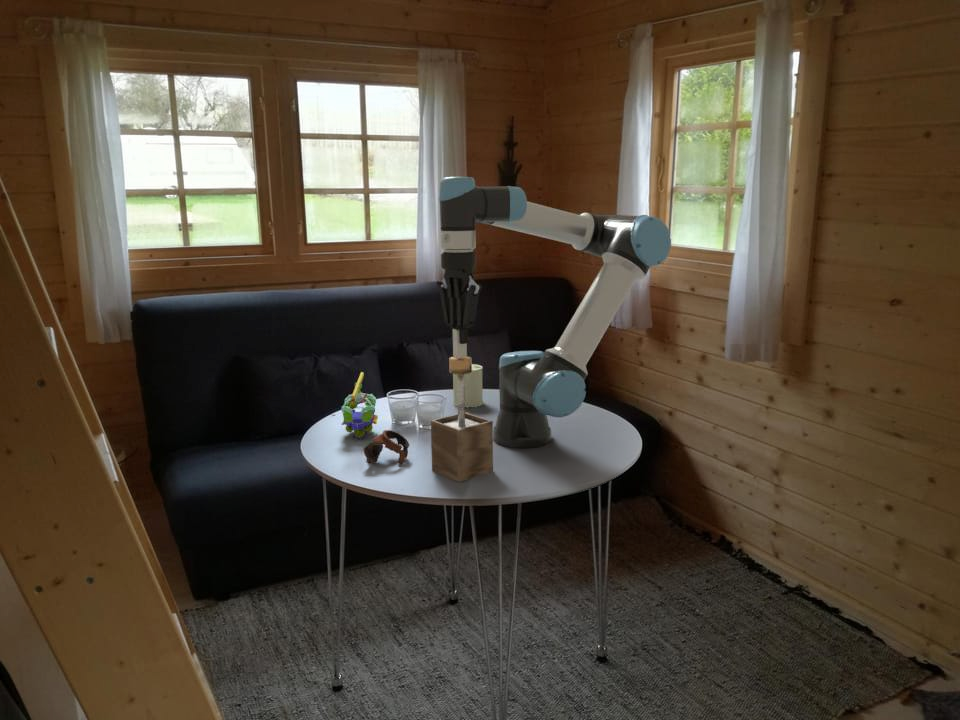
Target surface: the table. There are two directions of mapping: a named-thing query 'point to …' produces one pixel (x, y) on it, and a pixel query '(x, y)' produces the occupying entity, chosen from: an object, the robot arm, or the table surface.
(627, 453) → the table surface
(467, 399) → the can
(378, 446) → the brown arched band part
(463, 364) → the plunger
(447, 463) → the box
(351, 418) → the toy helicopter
